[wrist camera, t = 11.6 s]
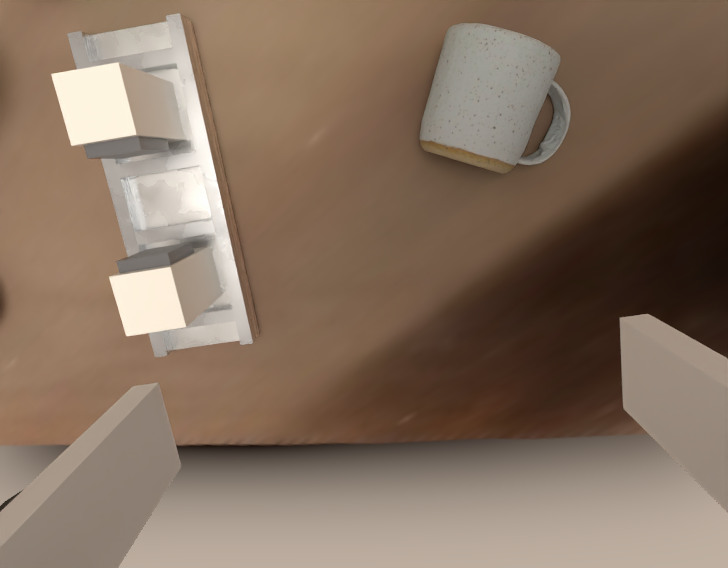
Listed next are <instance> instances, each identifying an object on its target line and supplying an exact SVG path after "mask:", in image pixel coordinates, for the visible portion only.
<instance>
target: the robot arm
mask: <svg viewBox="0 0 728 568" xmlns="http://www.w3.org/2000/svg"><path fill="white" fill-rule="evenodd" d="M620 337H621V363H622V389H623V409H624V410H625V411H626V412H627V413H628V414H629V415H630V416H631V417H632V418H633V419H634V420H635V421H636V422H637V423H638V424H639V425H640V426H641V427H642V428H643V429H644V430H645V431H646V432H647V433H648V434H649V435H650V436H652V438H654V440H656V442H658V443H659V444H660V445H661V446H662V447H663V448H664V449H665V450H666V451H667V452H668V453H669V454H670V455H671V456H672V457H673V458H674V459H675V460H676V461H677V462H678V463H679V464H680V465H681V466H682V467H683V468H684V469H685V470H686V471H687V472H688V473H689V474H690V475H691V476H692V477H693V478H694V479H695V480H696V481H697V482H698V483H699V484H700V485H701V486H702V487H703V488H704V489H705V490H706V491H707V492H708V493H709V494H710V495H711V496H712V497H713V498H714V499H715V500H716V501H717V502H718V503H719V504H720V505H721V506H722V507H723V508H724V509H725V510H726V511H727V512H728V359H727V358H726V357H724V356H722V355H720V354H719V353H717V352H715V351H713V350H711V349H710V348H708V347H706V346H704V345H703V344H701V343H699V342H697V341H695V340H694V339H692V338H690V337H688V336H687V335H685V334H683V333H681V332H679V331H678V330H676V329H674V328H672V327H671V326H669V325H667V324H665V323H663V322H662V321H660V320H658V319H656V318H655V317H653V316H651V315H649V314H643V315H636V316H629V317H622V318H620ZM180 468H181V463H180V459H179V456H178V452H177V448H176V445H175V441H174V437H173V434H172V430H171V426H170V423H169V419H168V415H167V412H166V408H165V405H164V401H163V397H162V394H161V390H160V386H159V383H153V384H146V385H139V386H133V387H132V388H131V389H130V390H129V391H127V392H126V393H125V394H124V395H123V396H122V397H121V398H120V399H119V400H118V401H117V402H116V403H115V404H114V405H113V406H112V407H111V408H109V409H108V410H107V411H106V412H105V413H104V414H103V415H102V416H101V417H100V418H99V419H98V420H97V421H96V422H95V423H94V424H93V425H92V426H90V427H89V428H88V429H87V430H86V431H85V432H84V433H83V434H82V435H81V436H80V437H79V438H78V439H77V440H76V441H75V442H74V443H72V444H71V445H70V446H69V447H68V448H67V449H66V450H65V451H64V452H63V453H62V454H61V455H60V456H59V457H58V458H57V459H56V460H55V461H53V462H52V463H51V464H50V465H49V466H48V467H47V468H46V469H45V470H44V471H43V472H42V473H41V474H40V475H39V476H38V477H37V478H35V480H33V481H32V482H31V483H30V484H29V485H28V486H27V487H26V488H25V489H24V490H22V491H21V492H19V493H17V494H16V495H14V496H13V497H11V498H10V499H8V500H7V501H5V502H4V503H3V504H2V505H1V506H0V568H118V567H119V565H120V564H121V562H122V561H123V559H124V557H125V556H126V554H127V553H128V551H129V549H130V548H131V546H132V545H133V543H134V541H135V540H136V538H137V536H138V535H139V533H140V532H141V530H142V528H143V527H144V525H145V524H146V522H147V520H148V519H149V517H150V516H151V514H152V512H153V511H154V509H155V508H156V506H157V504H158V503H159V501H160V499H161V498H162V496H163V495H164V493H165V492H166V490H167V488H168V487H169V485H170V484H171V482H172V480H173V479H174V477H175V476H176V474H177V472H178V471H179V469H180Z"/></svg>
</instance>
